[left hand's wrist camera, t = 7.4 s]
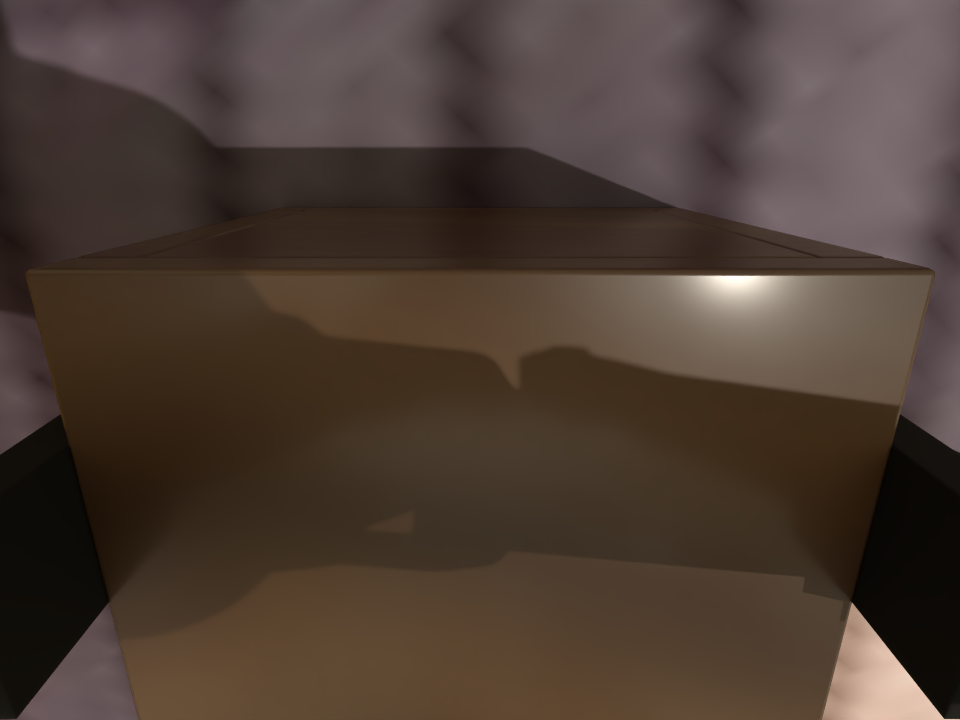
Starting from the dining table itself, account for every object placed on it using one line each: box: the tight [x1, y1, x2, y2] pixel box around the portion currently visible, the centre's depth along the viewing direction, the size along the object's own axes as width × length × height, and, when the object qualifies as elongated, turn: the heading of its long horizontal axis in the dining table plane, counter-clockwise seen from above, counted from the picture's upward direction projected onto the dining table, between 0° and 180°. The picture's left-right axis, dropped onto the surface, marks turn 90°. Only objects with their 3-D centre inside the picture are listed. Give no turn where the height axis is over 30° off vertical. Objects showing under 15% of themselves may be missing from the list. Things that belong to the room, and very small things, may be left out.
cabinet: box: [26, 208, 935, 720], centre depth 15 cm, size 21×12×10 cm, turn 0°
